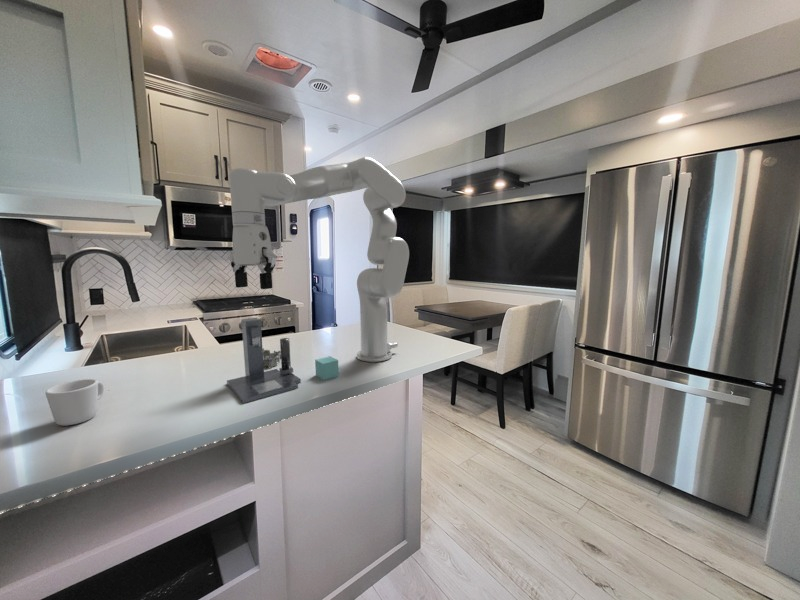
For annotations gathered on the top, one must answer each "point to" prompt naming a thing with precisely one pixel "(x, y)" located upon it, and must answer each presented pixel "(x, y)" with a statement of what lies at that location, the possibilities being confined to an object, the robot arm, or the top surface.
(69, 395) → the cup
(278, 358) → the egg carton
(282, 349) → the lever
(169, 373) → the top surface
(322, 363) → the teal cube block
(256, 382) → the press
